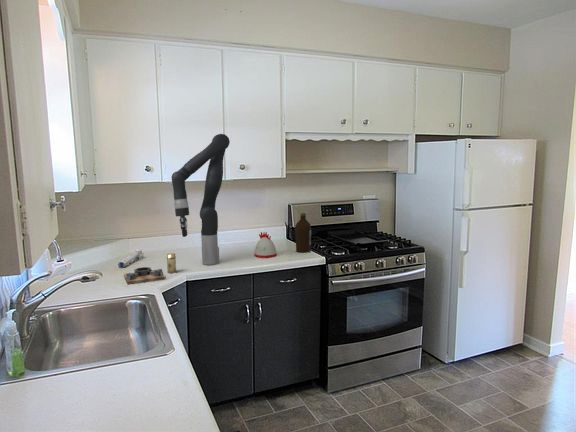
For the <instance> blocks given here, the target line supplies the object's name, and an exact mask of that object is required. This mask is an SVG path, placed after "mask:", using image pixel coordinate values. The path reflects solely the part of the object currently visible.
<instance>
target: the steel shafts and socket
mask: <svg viewBox="0 0 576 432" xmlns="http://www.w3.org/2000/svg"><path fill="white" fill-rule="evenodd" d="M151 270H152V268H151V267H149V266H142V267H138V268H134V270H133V271H134V272H128V273H126V274H127V280H134V279H136V277H139V276H146V275H155V276H162V275H164V271H163V269H162V268H158V269H157V268H156V269H154V270H155V271H151Z"/></svg>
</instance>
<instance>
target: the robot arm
mask: <svg viewBox="0 0 576 432" xmlns="http://www.w3.org/2000/svg"><path fill="white" fill-rule="evenodd" d="M230 141H231V140H230V138H229V136H227V134H224V133H218V134H215V135H213V138H212V139H211V142H210V143H209V144H208V145H207V146H206V147H205V148H204V149H202V150H201V151H200V152H199V153H196V155H194V156H193V157H192V158H190V159H189V160H188V161H187V162H185V164H184V165H183V166H181V168H180V169H178V170H177V171H174V172H173V173H172V174H171V183H172V189H173V200H174V201H173V206H174V213H175V214H174V215H175V217H180V218H179V226H180V230H181V235H182V238H185V237H187V236H188V218H187V217H186V216H190V207H189V201H188V195H187V190H186V181H187V179H189V177H191V176H192V175H193V174H195V173H196V172H197V171H198V170H200V169H201V168H202V167H203V166H204V165H205V164H206V163H208V167H207V172H206V176H205V184H204V191H203V192H204V193H203V199H202V203H201V207H200V210H199V218H200V219H201V229H200V238H201V259H202V260H201V261H202V265H204V266H213V265H218V264H220V263H221V262H220V261H221V260H220V247H219V243H218V242H219V241H218V228H219V219H218V218H219V217H218V215H219V214H218V211H217V210H216V201H217V198H218V196H219V193H220V190H221V188H222V185H223V178H224V177H223V176H224V157H225V152H226V149H228V148H229V146H230ZM208 161H209V162H208Z"/></svg>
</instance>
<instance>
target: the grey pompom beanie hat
mask: <svg viewBox="0 0 576 432" xmlns="http://www.w3.org/2000/svg"><path fill="white" fill-rule="evenodd" d="M258 235H259V238H260V239H259V240H258V241H257V243H256V245H255V248H254V251H253V252H254V257H255V258H258V259H271V258H275V257H277V249H276V246H275V244H274V241H272V239H271V237H272V236H271V235H270V234H269V233H268V232H267V231H266V232H265V231H263V232H262V231H261V232H260V233H259V234H258Z"/></svg>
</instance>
